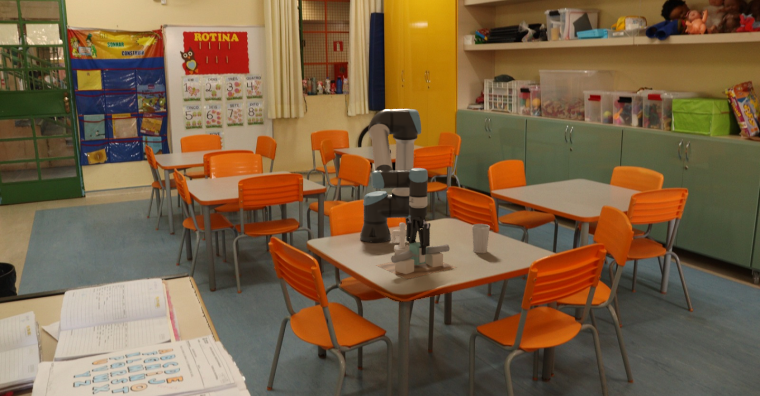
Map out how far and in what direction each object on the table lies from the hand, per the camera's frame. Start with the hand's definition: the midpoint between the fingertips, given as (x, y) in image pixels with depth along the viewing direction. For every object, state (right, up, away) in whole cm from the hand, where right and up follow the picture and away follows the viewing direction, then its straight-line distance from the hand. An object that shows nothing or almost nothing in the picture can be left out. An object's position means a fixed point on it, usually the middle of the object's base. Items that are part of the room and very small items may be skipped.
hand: (417, 260), depth 260 cm
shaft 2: (+9, -2, +5) cm, 10 cm away
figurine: (-6, 0, +21) cm, 22 cm away
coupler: (0, -1, 0) cm, 1 cm away
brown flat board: (-1, -4, +2) cm, 4 cm away
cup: (+30, +1, +27) cm, 41 cm away
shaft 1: (-7, -4, -6) cm, 10 cm away
